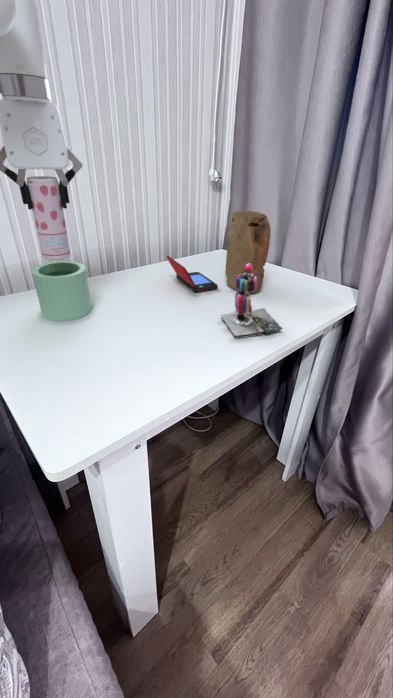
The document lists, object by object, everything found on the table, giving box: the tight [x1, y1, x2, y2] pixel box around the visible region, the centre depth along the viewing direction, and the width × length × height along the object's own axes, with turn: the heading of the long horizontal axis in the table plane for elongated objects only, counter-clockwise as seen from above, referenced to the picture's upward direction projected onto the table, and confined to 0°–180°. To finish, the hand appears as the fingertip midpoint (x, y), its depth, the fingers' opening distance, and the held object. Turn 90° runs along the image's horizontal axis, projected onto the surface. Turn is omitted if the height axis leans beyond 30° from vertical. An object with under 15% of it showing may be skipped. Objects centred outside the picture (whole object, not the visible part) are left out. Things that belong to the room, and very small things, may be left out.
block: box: [224, 210, 272, 294], centre depth 88 cm, size 11×8×20 cm
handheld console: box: [165, 255, 219, 293], centre depth 92 cm, size 12×11×7 cm
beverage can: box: [26, 175, 72, 262], centre depth 66 cm, size 6×6×15 cm
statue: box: [220, 263, 283, 340], centre depth 70 cm, size 11×9×15 cm
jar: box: [31, 260, 92, 322], centre depth 74 cm, size 11×11×10 cm
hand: (47, 206), depth 65 cm, fingers closed on beverage can, 5 cm apart
